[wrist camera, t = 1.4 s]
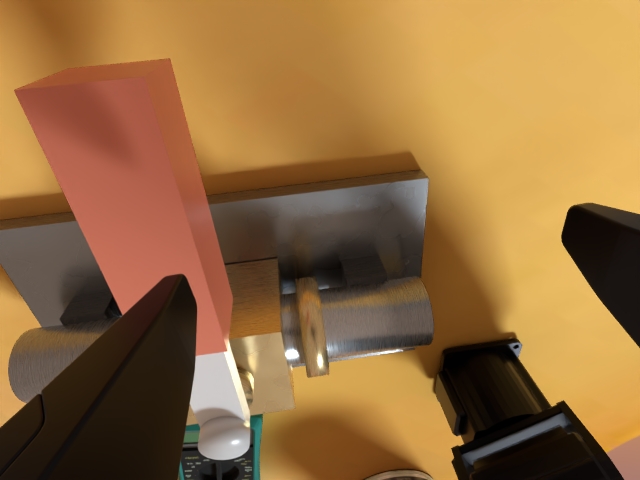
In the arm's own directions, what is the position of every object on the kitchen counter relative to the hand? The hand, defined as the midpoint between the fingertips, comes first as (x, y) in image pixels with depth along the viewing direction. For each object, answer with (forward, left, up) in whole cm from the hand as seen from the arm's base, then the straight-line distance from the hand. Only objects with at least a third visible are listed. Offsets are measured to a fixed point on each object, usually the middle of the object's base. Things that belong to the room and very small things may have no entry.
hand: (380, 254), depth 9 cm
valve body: (+6, +11, -13) cm, 18 cm away
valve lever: (+6, +4, -5) cm, 9 cm away
